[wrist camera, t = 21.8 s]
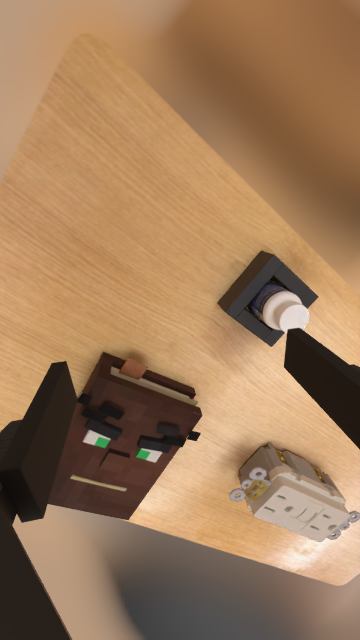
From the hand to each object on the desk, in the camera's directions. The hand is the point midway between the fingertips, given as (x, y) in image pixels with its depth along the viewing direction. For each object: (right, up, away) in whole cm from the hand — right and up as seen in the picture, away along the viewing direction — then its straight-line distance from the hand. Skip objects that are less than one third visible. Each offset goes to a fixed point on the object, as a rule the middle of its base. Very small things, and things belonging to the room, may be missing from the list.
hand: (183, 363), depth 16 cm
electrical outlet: (+21, -30, +43) cm, 56 cm away
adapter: (+13, +6, +26) cm, 30 cm away
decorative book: (-11, -16, +32) cm, 37 cm away
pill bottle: (+13, +6, +26) cm, 30 cm away
